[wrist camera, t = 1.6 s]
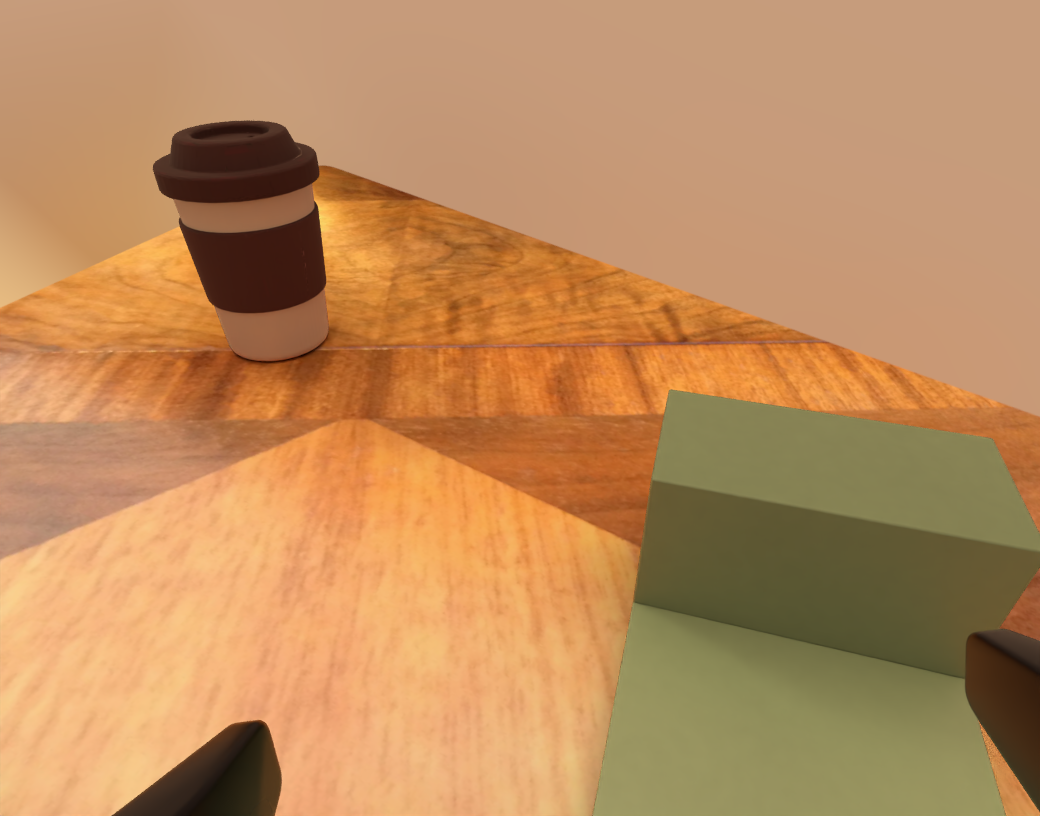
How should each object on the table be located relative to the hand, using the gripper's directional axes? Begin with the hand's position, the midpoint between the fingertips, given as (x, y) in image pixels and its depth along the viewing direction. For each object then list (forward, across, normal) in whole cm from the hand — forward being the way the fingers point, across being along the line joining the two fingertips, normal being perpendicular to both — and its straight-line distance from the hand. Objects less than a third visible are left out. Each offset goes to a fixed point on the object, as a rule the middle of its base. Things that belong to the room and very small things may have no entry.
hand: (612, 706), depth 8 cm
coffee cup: (+42, +20, -2) cm, 46 cm away
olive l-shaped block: (+13, -6, +13) cm, 20 cm away
